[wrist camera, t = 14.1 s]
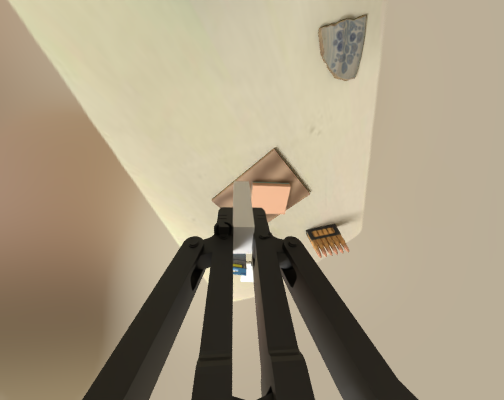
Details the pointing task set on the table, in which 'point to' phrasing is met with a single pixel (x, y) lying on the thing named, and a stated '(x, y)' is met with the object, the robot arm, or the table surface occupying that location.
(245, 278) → the external hard drive
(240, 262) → the label tape box
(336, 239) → the ammunition clip
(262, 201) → the tile
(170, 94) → the table surface
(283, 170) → the board
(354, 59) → the ceramic fragment
